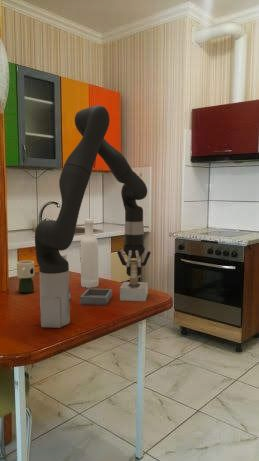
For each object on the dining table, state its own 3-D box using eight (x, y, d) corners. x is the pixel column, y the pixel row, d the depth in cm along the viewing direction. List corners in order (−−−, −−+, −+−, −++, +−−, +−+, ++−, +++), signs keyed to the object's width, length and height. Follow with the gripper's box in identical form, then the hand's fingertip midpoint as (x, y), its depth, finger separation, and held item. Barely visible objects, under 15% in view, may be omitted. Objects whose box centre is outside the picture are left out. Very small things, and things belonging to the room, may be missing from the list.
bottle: (78, 285, 169) (76, 219, 166) (93, 282, 174) (92, 218, 171) (86, 288, 163) (84, 220, 160) (101, 286, 167) (101, 219, 164)
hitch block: (145, 301, 144) (145, 288, 144) (120, 300, 145) (119, 287, 145) (147, 294, 154) (147, 282, 153) (123, 293, 155) (123, 281, 155)
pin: (138, 292, 147) (139, 262, 146) (127, 292, 147) (127, 262, 146) (140, 289, 151) (140, 260, 150) (129, 289, 152) (129, 260, 150)
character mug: (32, 295, 153) (31, 264, 151) (15, 296, 152) (13, 264, 151) (37, 288, 164) (36, 259, 162) (20, 289, 163) (19, 259, 161)
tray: (106, 305, 139) (106, 297, 139) (80, 304, 140) (80, 296, 140) (112, 296, 151) (112, 289, 150) (87, 295, 152) (87, 288, 152)
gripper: (114, 233, 144) (115, 277, 146) (151, 234, 142) (151, 278, 144) (118, 231, 151) (118, 273, 153) (152, 232, 150) (152, 274, 151)
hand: (134, 275), depth 149 cm, fingers closed on pin, 3 cm apart
